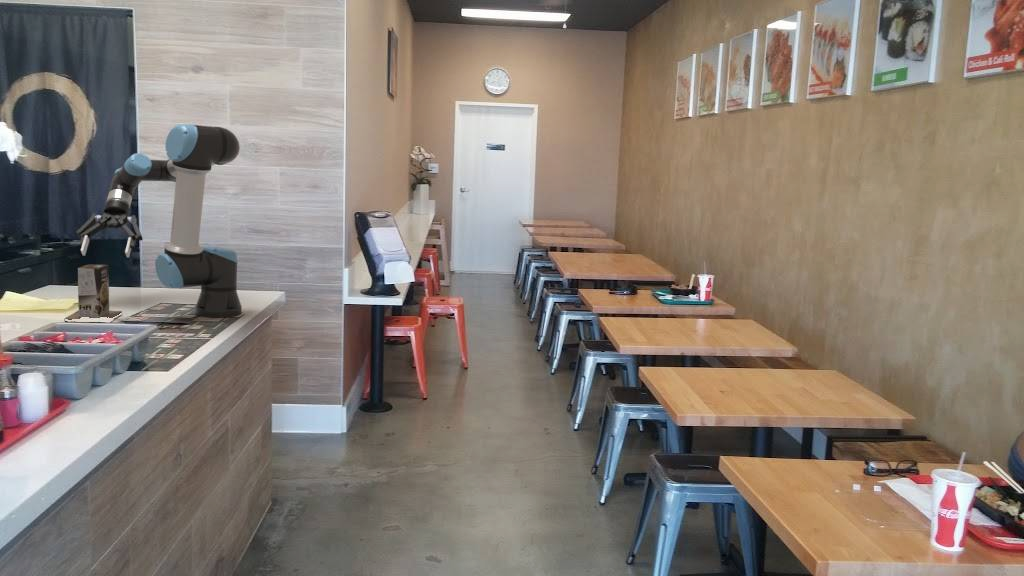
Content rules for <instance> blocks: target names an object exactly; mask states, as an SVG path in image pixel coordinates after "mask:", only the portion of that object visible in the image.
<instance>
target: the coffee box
mask: <svg viewBox="0 0 1024 576" xmlns="http://www.w3.org/2000/svg"><path fill="white" fill-rule="evenodd" d="M109 267H110V265H109V264H102V263H101V264H91V263H90V264H85V265H82V266H80V267H77V291H78V292H77V293H78V295H77V296H78V297H77V298H78V301H77V302H78V310H79V317H89V318H100V317H102V316H104V315H105V314H107V313H109V311H110V276H109V274H110V273H109V270H110V269H109Z"/></svg>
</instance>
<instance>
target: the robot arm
mask: <svg viewBox="0 0 1024 576" xmlns="http://www.w3.org/2000/svg"><path fill="white" fill-rule="evenodd" d="M165 151H166V156H167V158H168V159H161V160H160V159H150V158H149V156H147V155H144V154H142V153H133V154H131V155H130V157H128V158H127V159H126V160H125V162H124V164H123V165H122V167H120V168H117V169H115V172H114V174H113V176H112V180H111V184H110V188H109V191H108V195H107V198H106V202H105V206H104V209H103V214H102V215H99V214H97V213H96V212H93V213H91V216H90V217H89V219H88V220H87V221H85V223H84V224H83V225H81V227H80V228H78V229H77V230H76V235H77V237H78V238H79V239H80V241H79V245H80V246H81V248H80V252H81V254H82V256H84V257H85V256H86V254H87V250H88V247H89V244H90V238H91V237H92V236H94V235H96V234H98V233H99V232H100V231H102V230H105V229H107V228H108V229H111V228H112V229H119V228H121V230H122V231H124V233H125V234H126V235H127V236H128V237H127V238H128V239H127V242H126V243H127V244H126V247H125V249H124V254H125V256H126V258H130V255H131V252H132V249H135V248H136V242H137V241H141V242H142V241H143V239H144V238H143V236H142V233H141V231H140V228H139V226H138V224H137V223H138V221H137V220H138V219H137V217H136V215H135V214H133V215H131V216H129V213H130V208H131V205H132V200H133V196H134V193H135V190H136V189H137V188H138V186H139V185H140V183H141V182H174V183H175V185H174V187H175V189H174V197H173V198H174V199H173V206H172V207H173V209H172V210H173V211H172V219H171V229H170V230H171V231H170V241H169V242H168V243H166V244H165V245H164V249H163V250H164V251H163V252H162V253H159V254H158V255H157V257H156V258H155V263H154V264H155V272H156V274H157V278H158V279H159V281H160V282H161V284H162V285H163V286H164V287H167V288H168V289H182V288H190V287H191V288H192V287H199V286H200V294H199V296H198V299H197V302H196V305H195V314H196V315H198V316H201V317H209V318H229V316H230V317H235V316H240V315H241V314H242V312H243V309H242V308H243V307H242V303H241V301H240V298H239V295H238V292H237V291H238V290H237V289H238V288H237V287H238V285H237V283H238V282H237V281H238V277H237V276H238V255H237V252H236V251H235V250H233V249H229V248H224V247H219V246H218V247H217V246H208V245H204V246H202V247H201V246H200V244H199V243H200V233H201V232H200V231H201V224H202V223H201V222H202V215H203V213H202V212H203V204H204V191H205V184H206V175H207V174H208V173H210V172H211V171H212V166H215V165H216V166H224V165H226V164H229V163H231V162H233V161H234V160H235V159H236V158H237V157H238V155H239V153H240V142H239V140H238V138H237V136H236V135H235V134H234V133H233V132H232V131H231V130H229V129H227V128H225V127H221V126H211V125H201V124H200V125H198V124H192V123H187V124H182V123H181V124H176V125H175V126H173V127H172V128H171V129H170V130H169V132H168V134H167V136H166V141H165ZM127 222H129V223H130V224H132V226H133V229H134V231H135V233H134V232H133V231H132V230H131V229H130V228H129V226H127V224H126V223H127Z"/></svg>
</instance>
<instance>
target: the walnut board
mask: <svg viewBox="0 0 1024 576" xmlns="http://www.w3.org/2000/svg"><path fill="white" fill-rule="evenodd" d="M120 313H122V314H123V311H122V310H109V313H107V314H105V315H104V316H102V317H107V318H108V317H109V318H113V317H115V316H117V315H119V314H120ZM80 318H81V317H79V309H78V310H77V311H75V312H73V313H72V314H70V315H68V316H67V317H65V318H64V320H65V319H68V320H72V319H80Z"/></svg>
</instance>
